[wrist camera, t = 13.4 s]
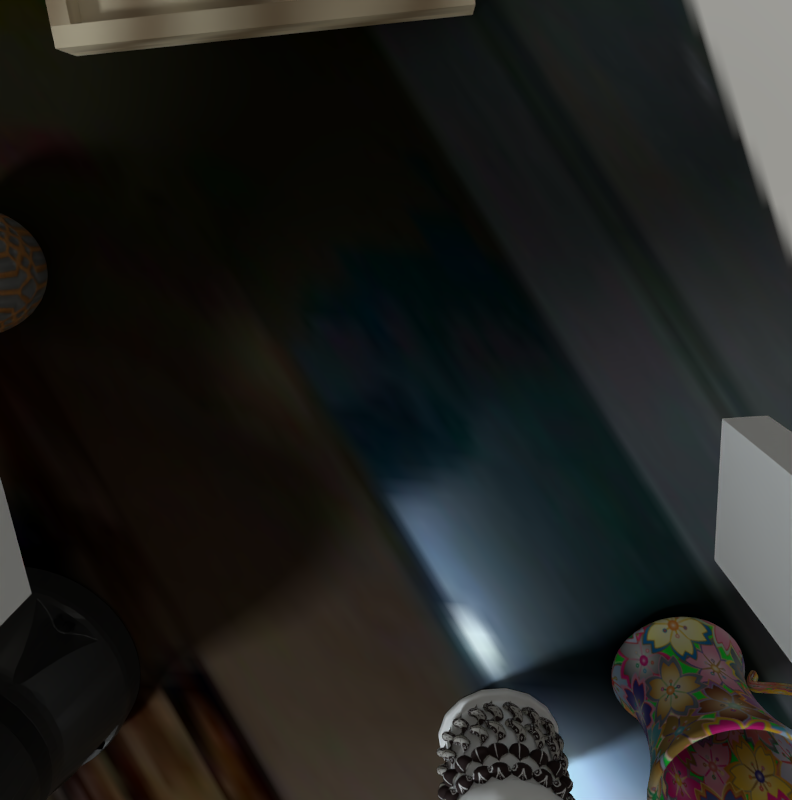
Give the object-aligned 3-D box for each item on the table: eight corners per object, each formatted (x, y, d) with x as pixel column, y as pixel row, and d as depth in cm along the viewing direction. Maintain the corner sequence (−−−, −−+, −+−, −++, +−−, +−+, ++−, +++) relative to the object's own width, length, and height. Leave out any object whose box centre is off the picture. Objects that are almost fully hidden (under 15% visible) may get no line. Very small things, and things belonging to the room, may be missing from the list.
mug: (628, 737, 49) (679, 883, 39) (582, 631, 46) (624, 756, 36) (801, 683, 47) (904, 821, 37) (762, 569, 44) (861, 684, 34)
